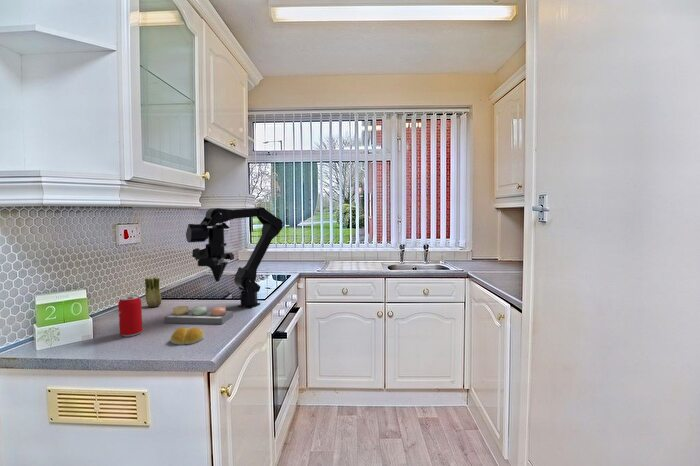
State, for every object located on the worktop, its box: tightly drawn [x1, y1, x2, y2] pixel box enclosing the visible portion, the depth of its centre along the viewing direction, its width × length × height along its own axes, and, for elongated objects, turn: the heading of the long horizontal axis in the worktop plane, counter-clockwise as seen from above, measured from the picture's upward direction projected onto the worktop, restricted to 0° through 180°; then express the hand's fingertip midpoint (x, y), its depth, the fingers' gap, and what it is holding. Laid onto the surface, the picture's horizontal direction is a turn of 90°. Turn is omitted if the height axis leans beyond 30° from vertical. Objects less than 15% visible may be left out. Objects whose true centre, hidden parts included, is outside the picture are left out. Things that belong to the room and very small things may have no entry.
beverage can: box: [117, 294, 143, 338], centre depth 114 cm, size 6×6×12 cm
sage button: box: [191, 305, 208, 316], centre depth 129 cm, size 5×5×2 cm
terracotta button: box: [210, 306, 227, 316], centre depth 128 cm, size 5×5×2 cm
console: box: [163, 309, 234, 325], centre depth 129 cm, size 9×21×2 cm, turn 85°
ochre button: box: [172, 305, 189, 315], centre depth 129 cm, size 5×5×2 cm
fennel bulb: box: [144, 277, 162, 308], centre depth 146 cm, size 6×5×12 cm
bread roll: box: [170, 327, 205, 346], centre depth 109 cm, size 8×9×4 cm
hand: (217, 281), depth 137 cm, fingers closed
